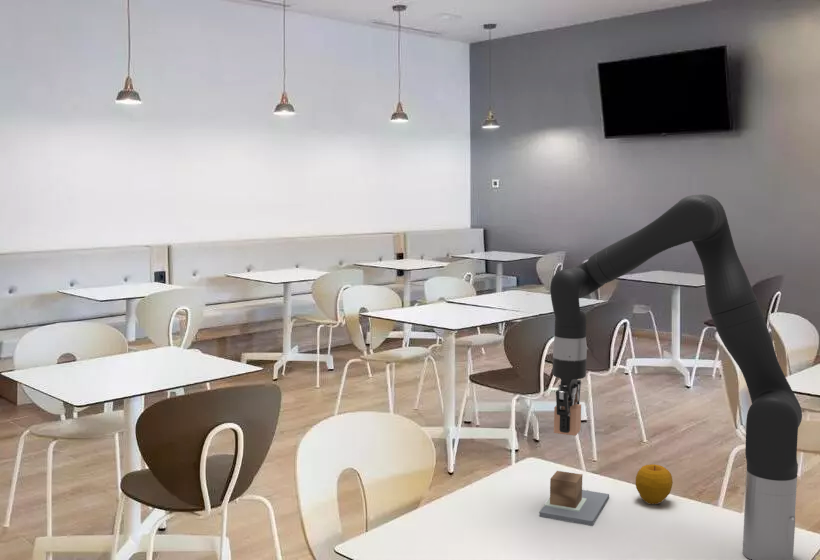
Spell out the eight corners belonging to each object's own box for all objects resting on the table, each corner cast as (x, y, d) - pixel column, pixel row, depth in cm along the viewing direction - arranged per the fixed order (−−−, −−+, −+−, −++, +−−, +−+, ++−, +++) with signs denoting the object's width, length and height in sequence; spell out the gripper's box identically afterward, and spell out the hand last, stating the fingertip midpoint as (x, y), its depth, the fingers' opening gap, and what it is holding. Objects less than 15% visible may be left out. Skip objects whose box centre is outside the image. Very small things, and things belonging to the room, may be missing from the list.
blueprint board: (609, 498, 193) (609, 492, 193) (592, 525, 177) (592, 519, 177) (559, 490, 198) (559, 485, 198) (539, 516, 182) (539, 510, 182)
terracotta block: (580, 429, 187) (581, 404, 186) (575, 435, 183) (576, 409, 182) (559, 427, 189) (559, 402, 189) (553, 432, 185) (554, 407, 184)
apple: (677, 509, 187) (678, 472, 186) (640, 509, 187) (641, 471, 186) (665, 495, 195) (667, 459, 194) (630, 495, 195) (631, 459, 194)
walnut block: (581, 499, 189) (582, 474, 188) (575, 508, 184) (576, 482, 183) (556, 495, 192) (557, 470, 191) (549, 504, 186) (550, 478, 185)
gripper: (578, 363, 176) (576, 439, 178) (593, 351, 189) (590, 423, 191) (544, 360, 179) (543, 435, 181) (561, 349, 192) (559, 419, 194)
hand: (567, 428), depth 186 cm, fingers closed on terracotta block, 5 cm apart
